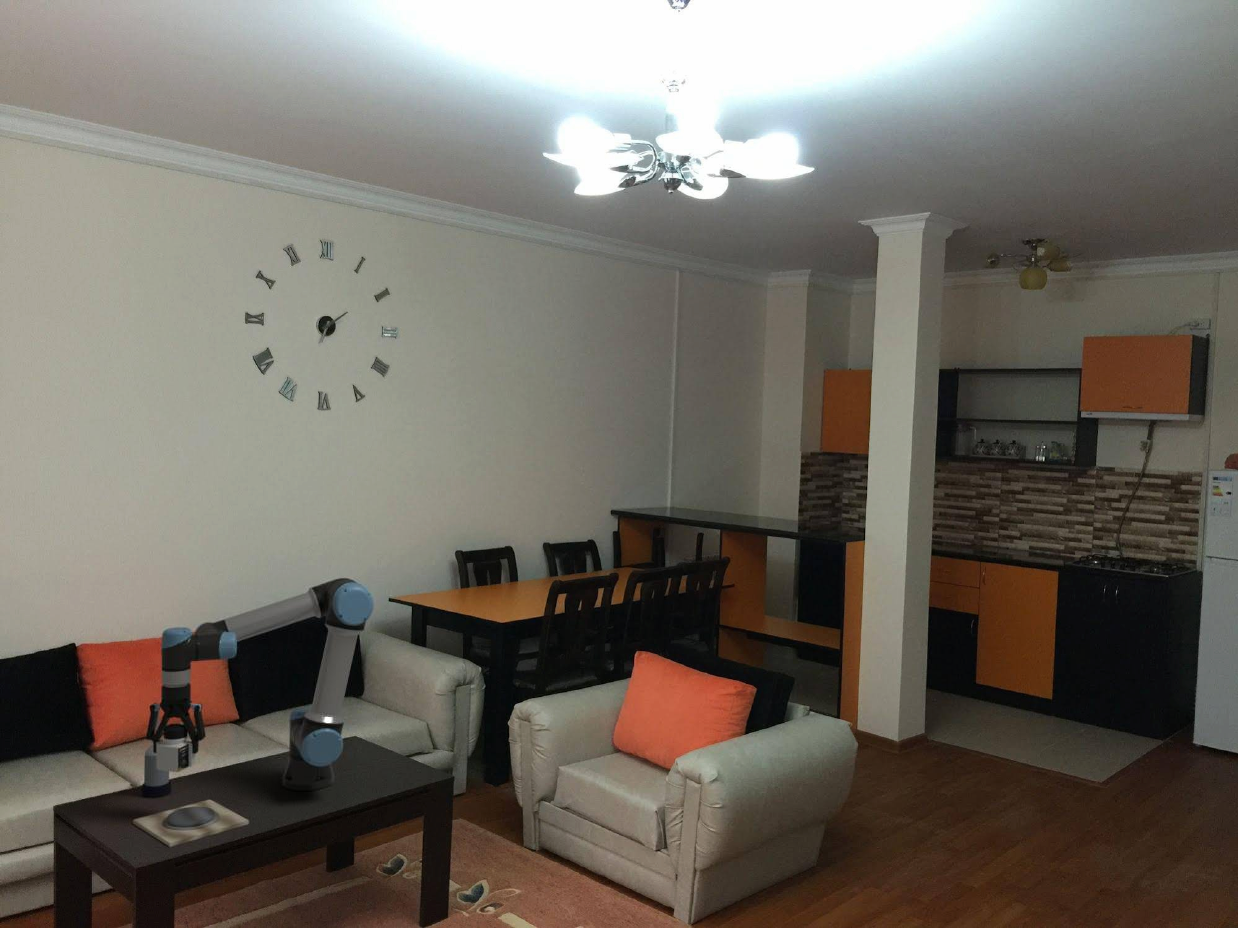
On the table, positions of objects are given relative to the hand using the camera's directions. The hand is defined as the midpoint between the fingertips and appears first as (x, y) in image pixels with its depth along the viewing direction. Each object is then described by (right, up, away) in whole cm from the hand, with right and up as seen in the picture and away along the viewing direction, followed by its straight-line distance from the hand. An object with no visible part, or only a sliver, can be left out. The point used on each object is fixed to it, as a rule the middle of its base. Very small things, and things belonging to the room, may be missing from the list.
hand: (175, 764), depth 287 cm
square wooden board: (+6, -15, -4) cm, 17 cm away
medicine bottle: (0, -1, 0) cm, 1 cm away
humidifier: (-14, -14, +18) cm, 27 cm away
